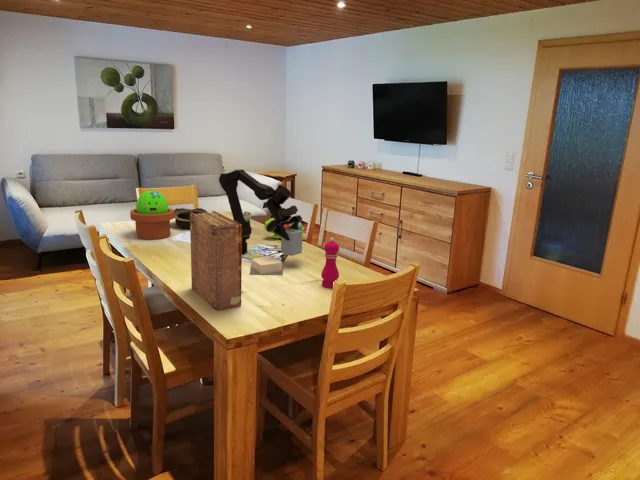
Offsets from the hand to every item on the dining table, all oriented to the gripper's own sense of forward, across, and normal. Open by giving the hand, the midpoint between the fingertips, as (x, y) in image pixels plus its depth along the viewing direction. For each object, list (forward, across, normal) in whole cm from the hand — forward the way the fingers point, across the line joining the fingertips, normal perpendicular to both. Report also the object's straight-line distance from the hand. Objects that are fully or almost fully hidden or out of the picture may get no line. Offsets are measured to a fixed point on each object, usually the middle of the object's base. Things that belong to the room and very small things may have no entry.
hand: (294, 238), depth 213 cm
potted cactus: (-53, -12, +73) cm, 91 cm away
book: (+11, -46, +8) cm, 49 cm away
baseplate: (+6, -12, +13) cm, 19 cm away
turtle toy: (-17, +36, +37) cm, 55 cm away
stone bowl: (-56, +17, +76) cm, 97 cm away
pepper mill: (+28, -6, -8) cm, 29 cm away
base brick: (+6, -12, +12) cm, 18 cm away
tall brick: (+4, 0, +6) cm, 7 cm away
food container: (-36, +33, +56) cm, 74 cm away
